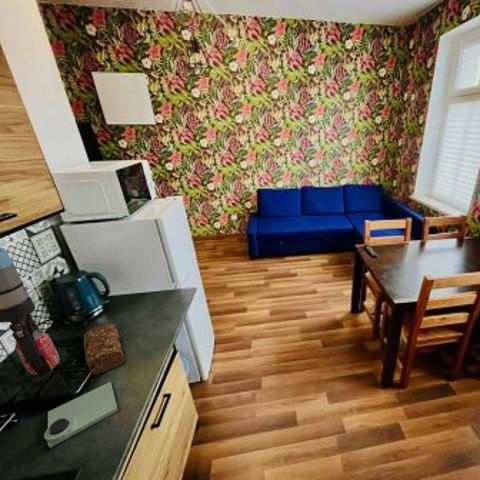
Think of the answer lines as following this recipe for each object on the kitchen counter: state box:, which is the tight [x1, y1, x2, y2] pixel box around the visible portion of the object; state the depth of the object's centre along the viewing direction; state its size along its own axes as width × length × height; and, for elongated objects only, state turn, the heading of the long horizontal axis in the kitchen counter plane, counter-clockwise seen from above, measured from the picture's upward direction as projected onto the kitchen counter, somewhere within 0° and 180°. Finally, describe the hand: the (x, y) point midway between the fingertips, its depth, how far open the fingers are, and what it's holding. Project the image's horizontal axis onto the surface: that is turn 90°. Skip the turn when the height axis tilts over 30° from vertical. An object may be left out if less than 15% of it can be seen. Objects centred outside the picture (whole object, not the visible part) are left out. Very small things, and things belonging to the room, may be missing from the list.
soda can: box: [14, 329, 61, 376], centre depth 79 cm, size 7×7×12 cm
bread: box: [83, 323, 126, 376], centre depth 104 cm, size 19×11×10 cm, turn 40°
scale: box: [43, 381, 119, 449], centre depth 84 cm, size 16×14×3 cm
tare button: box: [50, 418, 68, 435], centre depth 77 cm, size 4×4×2 cm
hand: (44, 364), depth 81 cm, fingers closed on soda can, 7 cm apart
